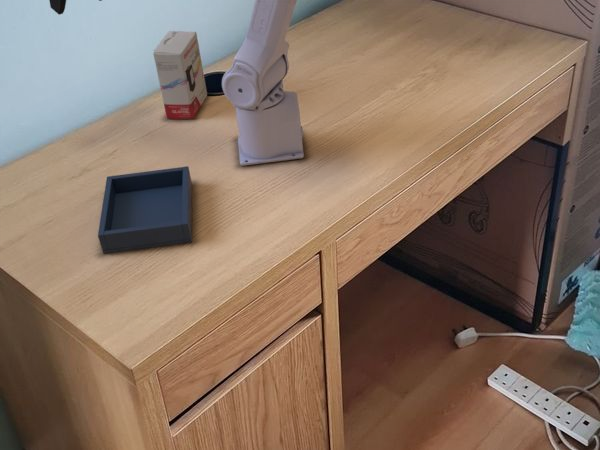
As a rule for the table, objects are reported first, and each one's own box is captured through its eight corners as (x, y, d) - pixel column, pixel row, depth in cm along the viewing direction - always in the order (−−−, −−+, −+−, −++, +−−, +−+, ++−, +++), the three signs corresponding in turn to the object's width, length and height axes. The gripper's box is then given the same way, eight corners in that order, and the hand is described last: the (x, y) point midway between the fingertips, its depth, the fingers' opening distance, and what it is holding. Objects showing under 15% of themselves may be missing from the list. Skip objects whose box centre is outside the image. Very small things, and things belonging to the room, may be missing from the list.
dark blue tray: (191, 183, 114) (188, 166, 112) (191, 242, 103) (187, 223, 101) (111, 194, 113) (106, 176, 112) (103, 253, 103) (97, 235, 101)
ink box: (193, 120, 128) (181, 53, 121) (165, 119, 129) (151, 53, 122) (208, 94, 135) (197, 29, 128) (181, 93, 136) (169, 29, 129)
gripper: (108, -104, 114) (96, -24, 124) (24, -85, 105) (19, 0, 114) (141, -77, 112) (127, 2, 122) (59, -56, 103) (51, 28, 113)
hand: (77, 3), depth 118 cm, fingers open, 7 cm apart
